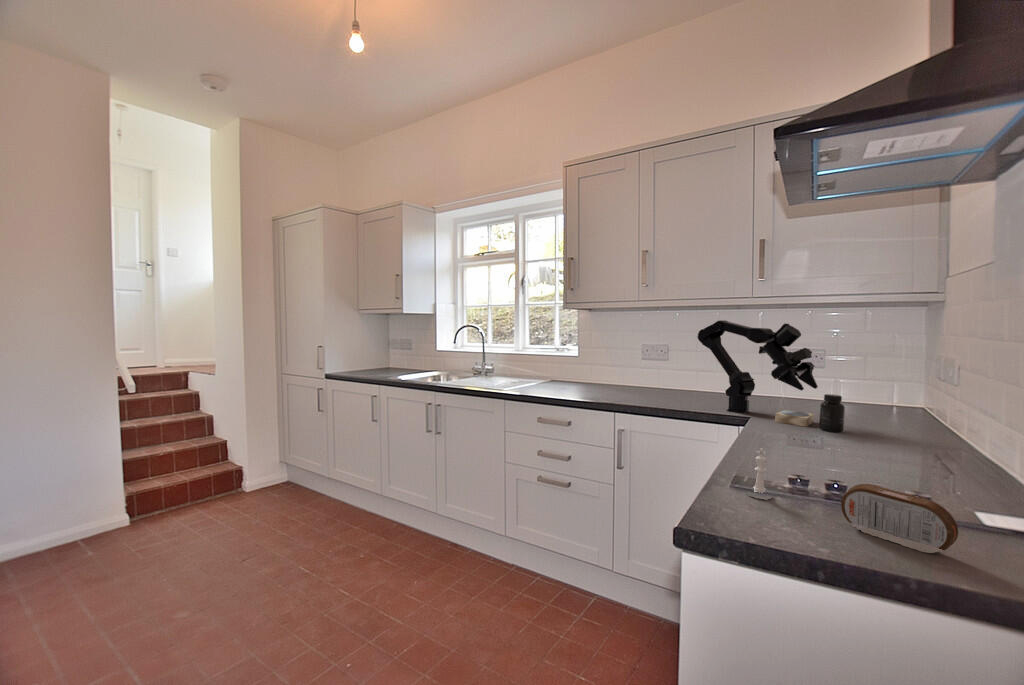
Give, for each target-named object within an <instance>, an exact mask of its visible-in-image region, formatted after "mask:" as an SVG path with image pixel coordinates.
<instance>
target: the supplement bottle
mask: <svg viewBox="0 0 1024 685" xmlns="http://www.w3.org/2000/svg"><path fill="white" fill-rule="evenodd" d="M823 396H824V397H823V400H824V401H823V402H821V403H820V404H819V420H818V421H819V422H818V424H819V425H818V427H819V428H818V429H819V430H821V431H823V432H829V433H843V432H844V429H845V428H844V427H845V409H846V407H845V405H844V404H843V403H842V395H841V394H840V395H838V394H831V393H830V394H829V393H827V394H824V395H823Z"/></svg>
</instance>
